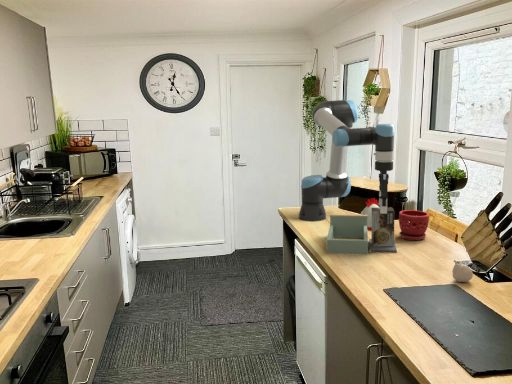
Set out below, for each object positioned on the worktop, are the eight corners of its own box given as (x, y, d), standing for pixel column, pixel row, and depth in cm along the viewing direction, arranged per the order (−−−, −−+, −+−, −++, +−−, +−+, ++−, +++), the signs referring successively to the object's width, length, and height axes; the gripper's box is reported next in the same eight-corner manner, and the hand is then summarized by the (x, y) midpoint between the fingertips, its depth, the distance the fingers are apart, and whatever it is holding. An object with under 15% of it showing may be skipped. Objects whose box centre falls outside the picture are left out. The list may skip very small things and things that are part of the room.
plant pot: (423, 243, 202) (424, 217, 200) (394, 239, 210) (394, 213, 208) (431, 236, 212) (433, 211, 210) (404, 232, 220) (404, 208, 218)
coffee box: (391, 242, 203) (392, 207, 199) (394, 246, 196) (395, 210, 193) (370, 242, 204) (371, 207, 201) (372, 246, 198) (373, 210, 194)
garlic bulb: (455, 276, 165) (456, 255, 163) (474, 280, 161) (475, 259, 159) (449, 282, 160) (450, 261, 158) (469, 286, 156) (470, 264, 154)
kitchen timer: (353, 225, 235) (353, 197, 232) (374, 221, 241) (374, 194, 238) (370, 232, 223) (370, 202, 220) (392, 227, 228) (393, 198, 225)
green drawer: (330, 235, 219) (329, 214, 216) (367, 236, 215) (367, 214, 212) (326, 253, 195) (326, 228, 192) (368, 254, 191) (368, 230, 188)
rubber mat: (369, 241, 209) (369, 238, 208) (394, 241, 206) (394, 239, 206) (369, 251, 194) (369, 249, 194) (396, 252, 192) (396, 250, 192)
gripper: (374, 156, 205) (373, 202, 210) (375, 165, 182) (374, 216, 186) (391, 156, 204) (390, 202, 208) (395, 165, 180) (393, 217, 184)
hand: (382, 209), depth 197 cm, fingers open, 13 cm apart
